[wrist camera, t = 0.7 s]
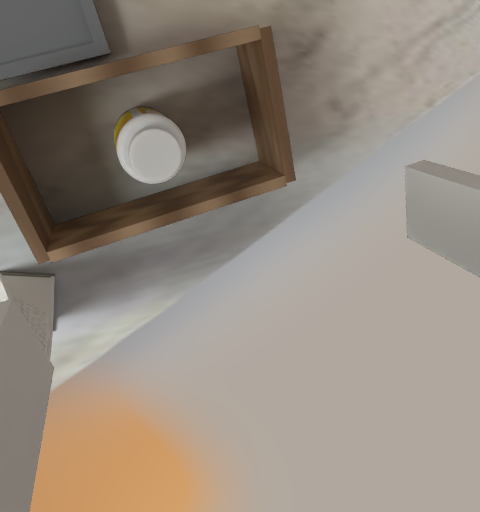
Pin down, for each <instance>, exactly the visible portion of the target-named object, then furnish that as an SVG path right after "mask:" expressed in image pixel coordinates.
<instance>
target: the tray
mask: <svg viewBox="0 0 480 512" xmlns="http://www.w3.org/2000/svg"><path fill="white" fill-rule="evenodd" d="M106 54H110V50H109V47H108V44H107V41H106V38H105V35H104V32H103V29H102V26H101V23H100V20H99V17H98V14H97V11H96V8H95V5H94V2H93V0H0V81H1V80H5V79H9V78H13V77H17V76H21V75H25V74H29V73H33V72H37V71H41V70H45V69H49V68H53V67H57V66H61V65H66V64H70V63H74V62H78V61H82V60H86V59H90V58H94V57H98V56H102V55H106Z"/></svg>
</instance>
